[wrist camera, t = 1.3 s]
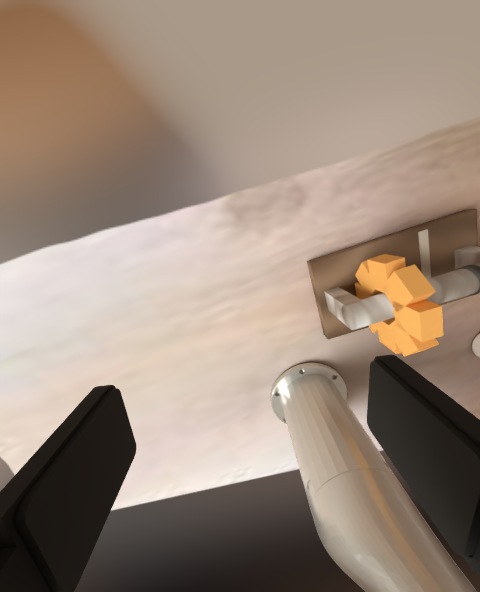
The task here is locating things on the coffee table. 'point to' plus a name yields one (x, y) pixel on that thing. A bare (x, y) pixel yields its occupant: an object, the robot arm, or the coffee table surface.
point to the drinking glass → (476, 345)
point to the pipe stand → (417, 250)
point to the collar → (401, 304)
